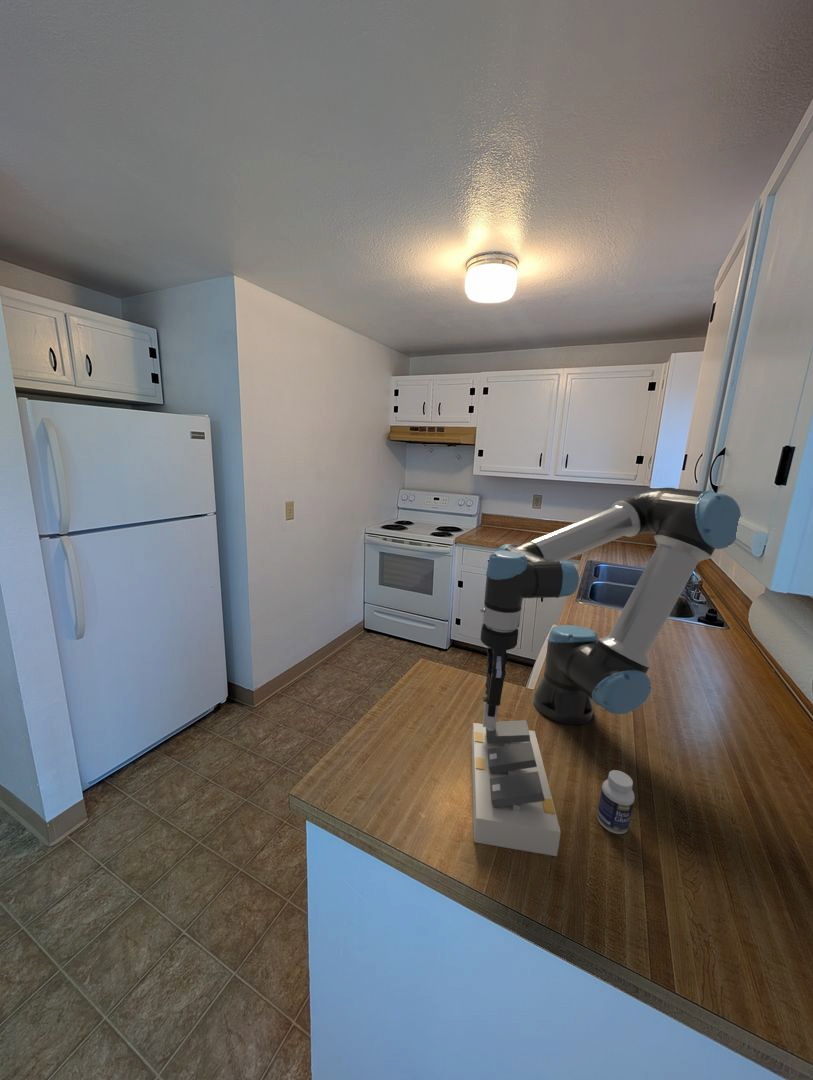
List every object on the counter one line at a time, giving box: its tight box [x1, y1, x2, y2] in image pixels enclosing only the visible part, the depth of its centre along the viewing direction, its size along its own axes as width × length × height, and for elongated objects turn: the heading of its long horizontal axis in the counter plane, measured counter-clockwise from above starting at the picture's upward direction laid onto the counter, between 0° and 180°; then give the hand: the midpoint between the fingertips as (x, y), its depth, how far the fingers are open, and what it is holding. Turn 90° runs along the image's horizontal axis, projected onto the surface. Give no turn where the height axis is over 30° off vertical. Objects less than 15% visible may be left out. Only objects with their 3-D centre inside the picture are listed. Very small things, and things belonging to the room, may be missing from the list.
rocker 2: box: [487, 742, 537, 774], centre depth 81 cm, size 9×5×2 cm, turn 82°
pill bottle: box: [596, 769, 636, 835], centre depth 76 cm, size 5×5×10 cm
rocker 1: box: [486, 719, 530, 743], centre depth 89 cm, size 9×5×2 cm, turn 82°
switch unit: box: [470, 722, 562, 857], centre depth 82 cm, size 14×26×6 cm, turn 172°
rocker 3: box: [490, 771, 545, 808], centre depth 74 cm, size 9×5×2 cm, turn 82°
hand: (489, 725), depth 89 cm, fingers closed
